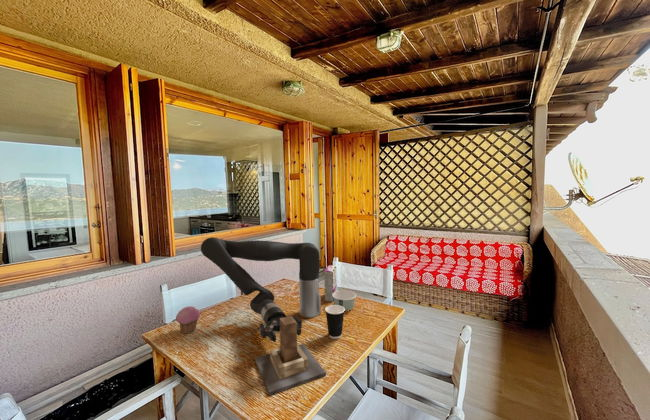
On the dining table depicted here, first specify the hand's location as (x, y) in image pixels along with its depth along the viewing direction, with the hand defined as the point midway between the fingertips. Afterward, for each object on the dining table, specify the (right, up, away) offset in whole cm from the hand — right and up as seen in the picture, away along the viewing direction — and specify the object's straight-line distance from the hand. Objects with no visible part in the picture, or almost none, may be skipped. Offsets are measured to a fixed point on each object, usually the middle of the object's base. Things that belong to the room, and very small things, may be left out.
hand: (287, 335), depth 89 cm
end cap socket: (+1, -10, -1) cm, 10 cm away
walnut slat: (+1, -9, -1) cm, 9 cm away
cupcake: (-44, -9, +23) cm, 51 cm away
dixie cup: (+16, -9, +18) cm, 26 cm away
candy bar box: (+16, -6, +57) cm, 60 cm away
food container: (+22, -7, +45) cm, 50 cm away
